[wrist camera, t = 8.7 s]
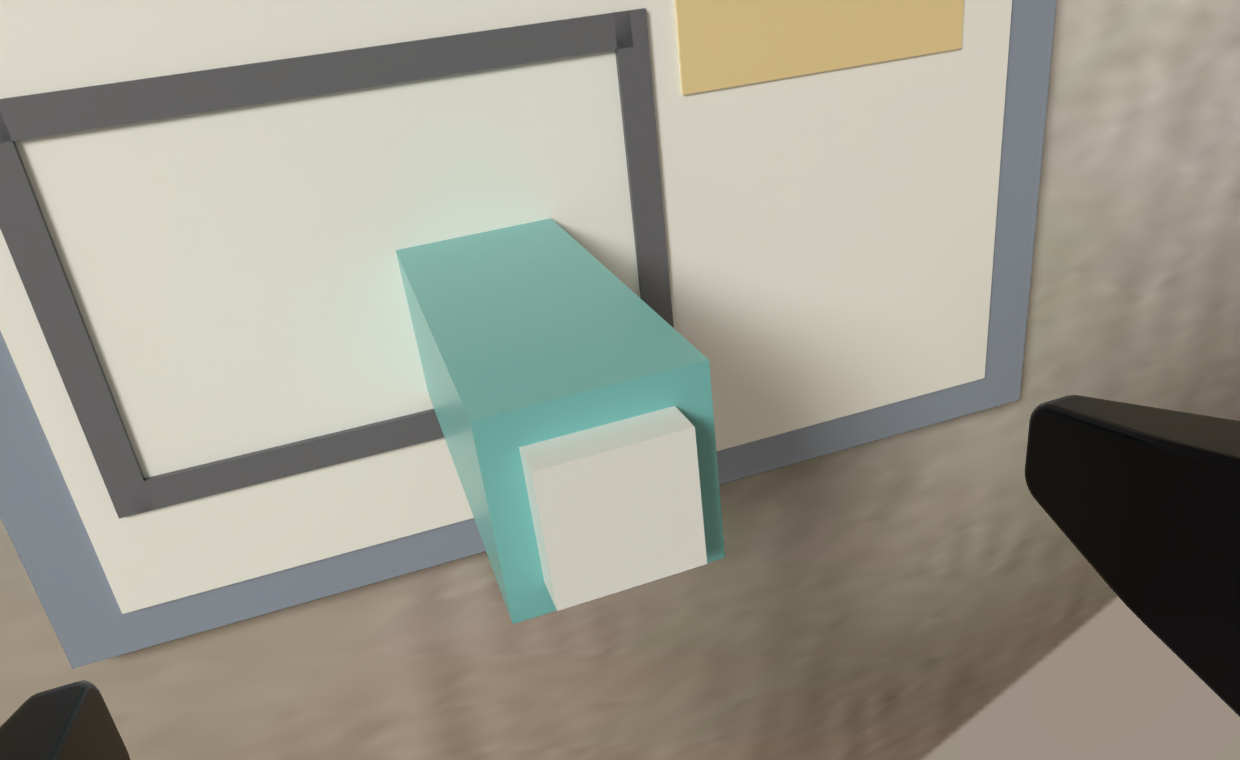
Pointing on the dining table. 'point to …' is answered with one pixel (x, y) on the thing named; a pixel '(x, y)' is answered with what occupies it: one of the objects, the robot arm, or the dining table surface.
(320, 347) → the drawing board
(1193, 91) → the dining table surface
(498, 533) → the teal piece
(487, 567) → the dining table surface
